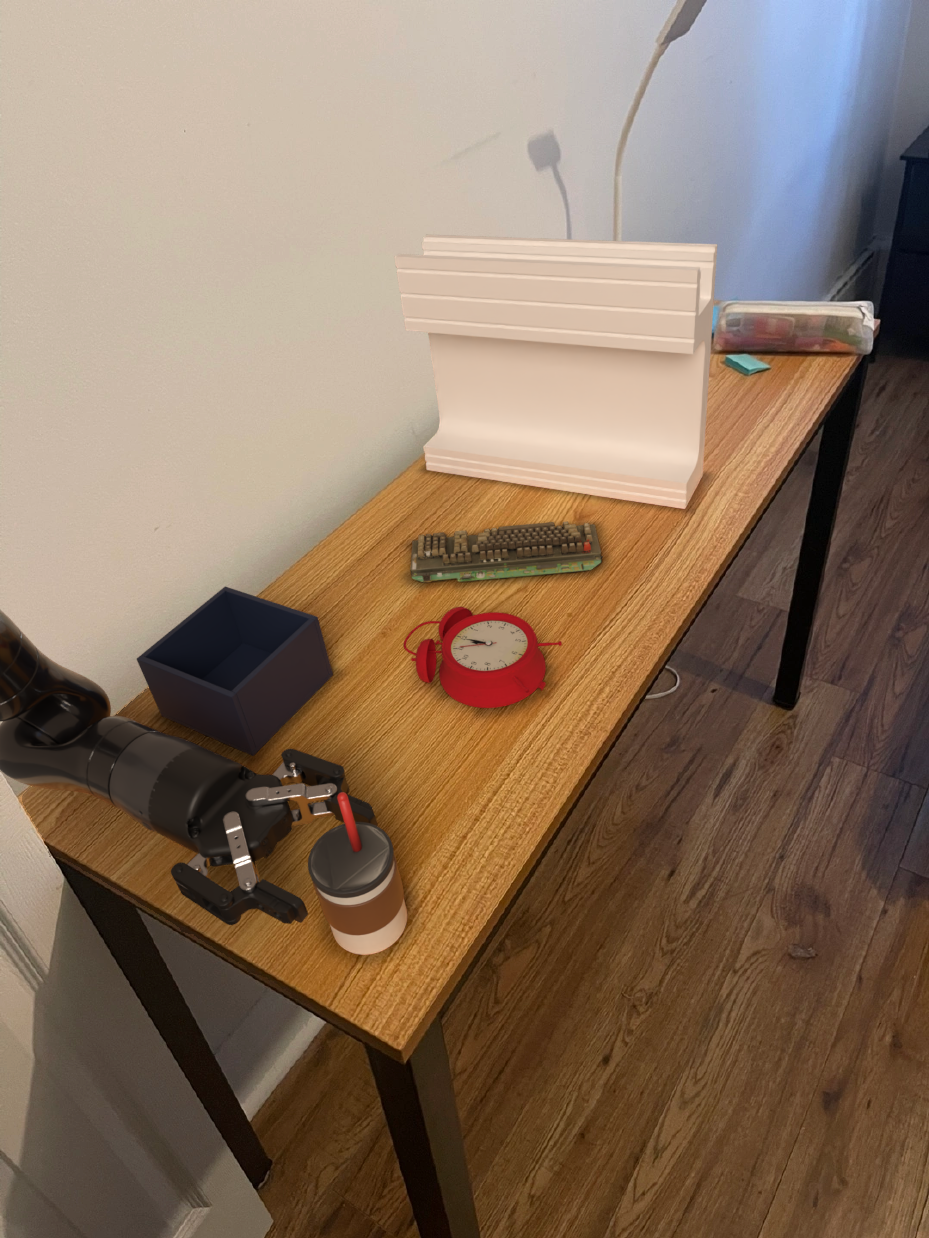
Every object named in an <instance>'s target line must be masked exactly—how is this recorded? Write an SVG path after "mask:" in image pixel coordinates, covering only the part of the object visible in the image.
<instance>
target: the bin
mask: <svg viewBox="0 0 929 1238" xmlns="http://www.w3.org/2000/svg"><path fill="white" fill-rule="evenodd" d="M326 646H327V645H326V643H325V639H324V635H323V631H322V628H321V624H320V620H319V617H318V616H317V615H314V614H311V613H308V612H304V611H302V610H299V609H296V608H292V607H289V606H286V605H283V604H280V603H277V602H274V601H272V600H268V599H265V598H262V597H259V596H255V595H253V594H249V593H247V592H243V591H240V590H238V589H235V588H232V587H228V586H223V587H222V588H221V589H220V590H219V591H217V592H216V593H215V594H214V595H212V596H211V597H210V598H209V599H207V600H206V601H205V602H204V603H203V604H202V605H200V606H199V607H198V608H197V609H195V610H194V611H193V612H192V613H190V614H189V615H188V616H187V617H186V618H184V619H183V620H181V622H180V623H178V624H177V625H175V626H174V628H172V629H170V631H168V632H167V633H166V634H165V635H163V636H162V637H161V638H160V639H159V640H157V641H156V642H155V643H154V644H152V645H151V646H150V647H149V648H147V649H146V650H145V651H143V653H141V654H140V655H139V656H138V657H137V658H136V661H137V664H138V666H139V669H140V671H141V673H142V675H143V677H144V679H145V681H146V685H147V686H148V688H149V691H150V693H151V695H152V698H153V700H154V702H155V704H156V707H157V710H159V714H160V716H161V717H163V718H164V719H167V720H170V721H172V722H174V723H176V724H179V725H181V726H183V727H186V728H188V729H190V730H192V731H194V732H196V733H199V734H201V735H204V736H205V737H208V738H211V739H213V740H215V741H218V742H220V743H222V744H223V745H227V746H229V747H231V748H233V749H236V750H238V751H240V752H243V753H245V754H247V755H249V756H251V757H254V756H256V754H257V753H258V752H260V751H261V749H262V748H263V747H264V746H265V745H266V744H267V743H268V742H269V741H270V740H272V738H273V737H274V736H275V734H277V733H278V732H279V731H280V730H281V729H282V728H283V727H284V725H285V724H287V722H289V720H290V719H291V718H292V717H294V715H296V713H297V712H299V710H301V708H303V706H304V705H305V704H306V703H307V702H309V700H311V698H312V697H313V696H314V695H315V694H316V693H317V692H318V691H319V690H320V689H321V688H322V687H323V686H324V685H325V684H326V683H327V682H328V681H329V680H330V679H331V678H332V677H333V676H334V673H333V668H332V666H331V662H330V661H331V660H330V658H329V654H328V650H327V647H326Z"/></svg>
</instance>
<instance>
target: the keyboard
mask: <svg viewBox="0 0 929 1238" xmlns="http://www.w3.org/2000/svg"><path fill="white" fill-rule="evenodd" d="M417 537H418V539H415V540H412V541H411V542H412V543H411V544H412V546H411V557H410V566H409V568H410V577H411V579H412V580H415V581H417V582H420V583H422V584H426V583H433V582H444V581H445V582H446V581H453V580H457V582H458V583H469V582H470V583H471V582H478V581H489V580H497V579H498V580H499V579H500V580H506V579H509V578H525V577H537V576H551V575H557V574H573V573H581V572H587V571H588V572H590V571H592V570H593V569H595V568H597V567H598V566H600V564H602V563H603V555H602V550H601V546H600V540H599V537H598V533H597V528H596V525H595V524H593V523H592V524H590V523H589V522H584V523H583V524H580V525H577V524H576V523H572V524H570V523H569V520H568V521H563V522H562V524H561V525H556V526H555V522H554V521H547V522H537V523H536V522H535V523H527V524H515V525H503V526H498V528H497V527H492V528H491V529H490V528H484V530H483V532H478V533H477V534H470V535H469V534H468V532H467V530H455V531H454V532H453V536H447V534H446V533H445V532H443V531H442V532H433V534H431V533H426V534H419V535H418V536H417Z"/></svg>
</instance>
